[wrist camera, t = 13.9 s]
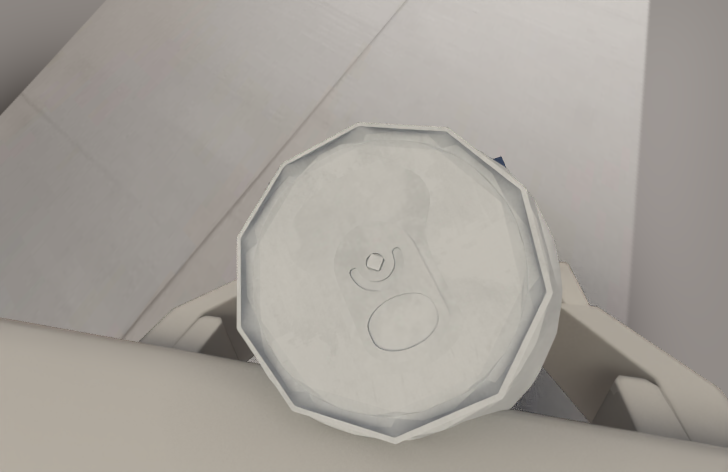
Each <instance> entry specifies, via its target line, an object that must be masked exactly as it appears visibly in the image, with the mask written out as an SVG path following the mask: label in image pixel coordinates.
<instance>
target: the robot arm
mask: <svg viewBox="0 0 728 472" xmlns="http://www.w3.org/2000/svg"><path fill="white" fill-rule="evenodd" d="M559 265H560V272H561V281H562V304H561V310H560V316H559V323H558V329H557V334H556V336H555V339H554V341H553V343H552V346H551V348H550V350H549V352H548V355H547V357H546V359H545V361H544V364H543V366H542V367H543V368H544V369H545V370H546V371H547V373H548V374H549V375H550V376H551V377H552V378H553V380H554V381H555V382H556V383H557V384H558V386H559V387H560V388H561V389H562V390H563V392H564V393H565V394H566V395H567V396H568V397H569V399H570V400H571V401H572V402H573V403H574V405H575V406H576V407H577V408H578V409H579V411H580V412H581V413H582V414H583V415H584V416H585V418H586V419H587V420H588V421H589V422H590V423H586V422H580V421H575V420H569V419H564V418H558V417H552V416H547V415H541V414H536V413H530V412H525V411H519V410H514V409H509V410H502V411H497V412H494V413H490V414H487V415H483V416H480V417H477V418H474V419H470V420H467V421H464V422H461V423H459V424H458V425H456V426H454V427H451V428H449V429H446V430H443V431H440V432H437V433H434V434H431V435H428V436H425V437H422V438H418V439H414V440H404V441H402V442H400V443H397V444H393V443H390V442H387V441H384V440H380V439H377V438H371V437H364V436H358V435H354V434H351V433H347V432H344V431H341V430H338V429H335V428H333V427H330V426H328V425H325V424H323V423H321V422H319V421H317V420H315V419H313V418H311V417H309V416H306V415H303V414H300V413H297V412H294V411H292V410H291V409H290V407H289V406H288V404H287V403H286V401H285V400H284V398H283V397H282V395H281V394H280V392H279V391H278V389H277V388H276V386H275V385H274V384H273V382H272V381H271V380H270V379H269V378H268V376H267V374H266V373H265V371H264V370H263V368H262V366H261V365H260V364H257V363H252V362H247V361H248V360H249V359H251V358H252V357H253V356H254V354H253V352H252V351H251V349H250V348H249V346H248V345H247V343H246V342H245V340H244V339H243V338H242V336H241V335H240V333H239V332H238V330H237V279H236V280H234V281H232V282H230V283H228V284H226V285H223V286H221V287H219V288H217V289H215V290H213V291H210V292H208V293H206V294H204V295H202V296H200V297H197V298H195V299H193V300H191V301H189V302H187V303H184V304H182V305H180V306H178V307H176V308H174V309H172V310H171V311H170V312H169V313H168V314H167V315H166V316H165V317H164V318H163V319H162V320H161V321H160V322H158V323H157V324H156V325H155V326H154V327H153V328H152V329H151V330H150V331H149V332H148V333H147V334H146V335H145V336H144V337H143V338H142V339H141V340H140V341H139V342H135V341H129V340H124V339H118V338H112V337H107V336H101V335H96V334H90V333H85V332H79V331H73V330H68V329H62V328H57V327H51V326H46V325H40V324H34V323H29V322H23V321H18V320H12V319H6V318H1V317H0V472H728V399H727V397H726V396H725V395H724V393H723V392H722V391H721V389H720V388H718V387H717V386H716V385H714V384H712V383H711V382H709V381H708V380H707V379H705V378H704V377H702V376H701V375H699V374H697V373H696V372H695V371H693V370H691V369H690V368H689V367H687V366H686V365H684V364H682V363H681V362H680V361H678V360H677V359H675V358H674V357H672V356H670V355H669V354H667V353H666V352H665V351H663V350H662V349H660V348H659V347H657V346H656V345H654V344H652V343H651V342H650V341H648V340H647V339H645V338H644V337H642V336H640V335H639V334H638V333H636V332H635V331H633V330H631V329H630V328H629V327H627V326H626V325H624V324H623V323H621V322H620V321H618V320H617V319H615V318H614V317H612V316H611V315H609V314H608V313H606V312H605V311H603V310H602V309H600V308H599V307H595V306H590V305H589V303H588V301H587V299H586V297H585V295H584V293H583V291H582V289H581V287H580V285H579V283H578V281H577V279H576V277H575V275H574V273H573V271H572V270H571V268H570V266H569V264H568V263H566V262H559Z"/></svg>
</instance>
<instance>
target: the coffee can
mask: <svg viewBox="0 0 728 472" xmlns="http://www.w3.org/2000/svg"><path fill="white" fill-rule="evenodd" d="M561 304H562V281H561V272H560V265H559V260H558V255H557V250H556V245H555V240H554V238H553V236H552V234H551V232H550V230H549V228H548V226H547V224H546V222H545V220H544V218H543V216H542V214H541V212H540V210H539V208H538V206H537V204H536V201H535V199H534V198H533V197H532V196H531V195H530V194H529V192H528V191H527V190H526V187H524V186H523V185H522V184H520V183H519V181H518V180H517V179H516V178H515V177H514V176H513V175H512V174H511V173H510V172H509V171H508V169H507V168H506V167H504V166H503V165H501V164H500V163H498V162H496V161H495V160H493V159H492V158H490V157H488V156H487V155H485V154H483V153H482V152H480V151H479V150H477V149H475V148H474V147H473V146H471V145H470V144H469V143H468V142H466V141H465V140H464V139H462V138H461V137H460V136H459V135H457V134H456V133H455V132H453V131H452V130H451V129H449V128H448V127H432V126H415V125H397V124H380V123H363V122H358V123H356V124H354V125H352V126H350V127H348V128H347V129H345V130H343V131H341V132H339V133H337V134H335V135H334V136H332V137H330V138H328V139H326V140H324V141H322V142H321V143H319V144H317V145H315V146H313V147H311V148H309V149H308V150H306V151H304V152H302V153H300V154H298V155H297V156H295V157H293V158H291V159H289V160H287V161H285V162H284V163H282V164H281V166H280V167H279V169H278V171H277V172H276V174H275V176H274V177H273V179H272V181H271V182H270V184H269V186H268V187H267V189H266V191H265V192H264V194H263V195H262V197H261V199H260V200H259V202H258V204H257V205H256V207H255V209H254V210H253V212H252V214H251V215H250V217H249V219H248V220H247V222H246V224H245V225H244V227H243V228H242V230H241V232H240V233H239V235H238V237H237V330H238V332H239V333H240V335H241V336H242V338H243V339H244V340H245V342H246V343H247V345H248V346H249V348H250V349H251V351H252V352H253V354H254V355H255V357H256V358H257V360H258V362H259V363H260V365H261V366H262V368H263V370H264V371H265V373H266V374H267V376H268V378H269V379H270V380H271V381H272V382H273V384H274V385H275V386H276V388H277V389H278V391H279V392H280V394H281V395H282V397H283V398H284V400H285V401H286V403H287V404H288V406H289V407H290V409H291V410H292V411H294V412H297V413H300V414H303V415H306V416H309V417H311V418H313V419H315V420H317V421H319V422H321V423H323V424H325V425H328V426H330V427H333V428H335V429H338V430H341V431H344V432H347V433H351V434H354V435H358V436H364V437H371V438H377V439H380V440H384V441H387V442H390V443H393V444H397V443H400V442H402V441H404V440H414V439H418V438H422V437H425V436H428V435H431V434H434V433H437V432H440V431H443V430H446V429H449V428H451V427H454V426H456V425H458V424H459V423H461V422H464V421H467V420H470V419H474V418H477V417H480V416H483V415H487V414H490V413H494V412H497V411H502V410H509V409H510V408H512V407H513V406H514V404H515V403H516V402H517V401H518V400H519V399H520V398H521V397H522V396H523V395H524V393H525V392H526V391H527V390H528V389H529V388H530V387H531V386H532V384H533V383H534V381H535V379H536V377H537V376H538V374H539V372H540V370H541V368H542V366H543V364H544V361H545V359H546V357H547V355H548V352H549V350H550V348H551V346H552V343H553V341H554V339H555V336H556V334H557V329H558V323H559V316H560V310H561Z"/></svg>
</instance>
